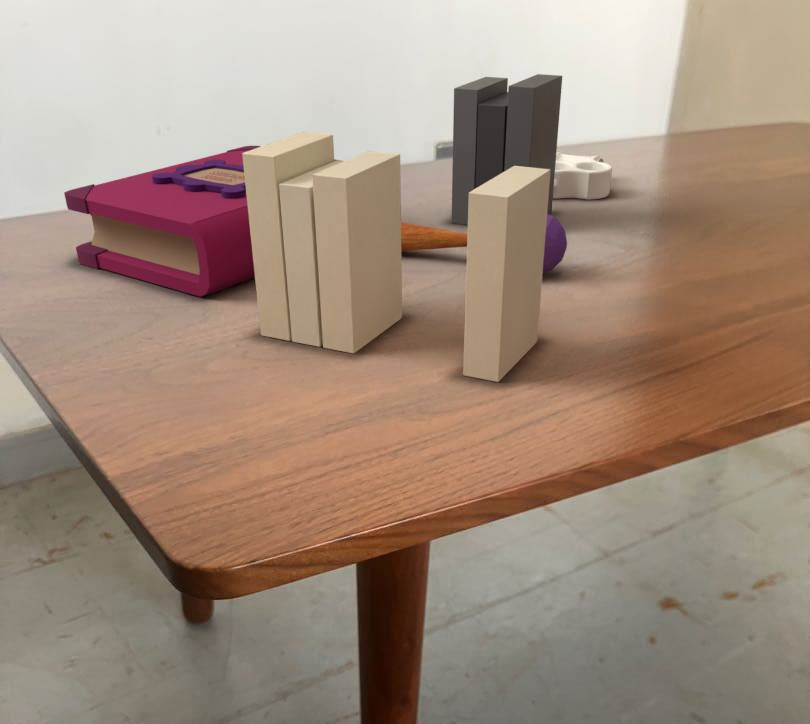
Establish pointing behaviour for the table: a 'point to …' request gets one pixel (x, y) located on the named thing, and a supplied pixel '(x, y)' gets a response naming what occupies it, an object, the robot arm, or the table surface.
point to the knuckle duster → (581, 177)
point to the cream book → (504, 270)
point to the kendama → (438, 238)
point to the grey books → (502, 132)
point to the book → (172, 224)
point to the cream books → (324, 241)
